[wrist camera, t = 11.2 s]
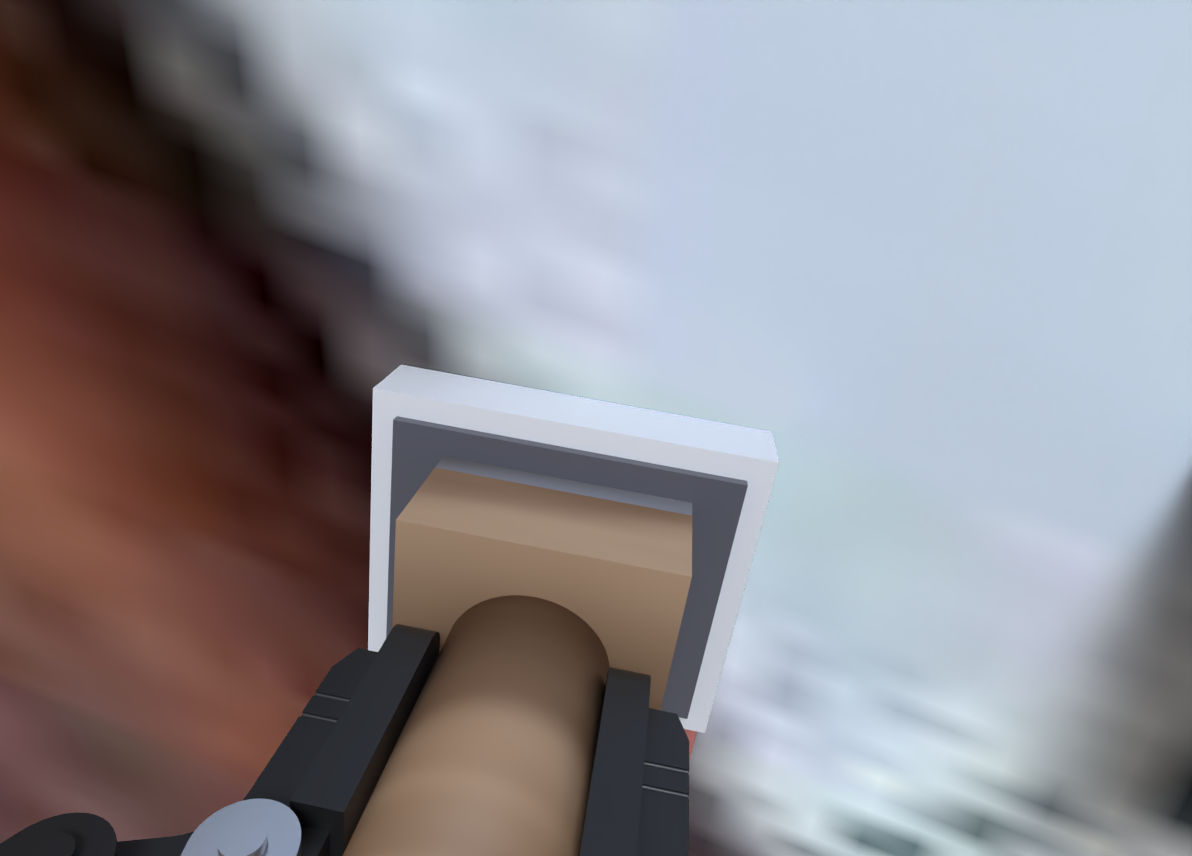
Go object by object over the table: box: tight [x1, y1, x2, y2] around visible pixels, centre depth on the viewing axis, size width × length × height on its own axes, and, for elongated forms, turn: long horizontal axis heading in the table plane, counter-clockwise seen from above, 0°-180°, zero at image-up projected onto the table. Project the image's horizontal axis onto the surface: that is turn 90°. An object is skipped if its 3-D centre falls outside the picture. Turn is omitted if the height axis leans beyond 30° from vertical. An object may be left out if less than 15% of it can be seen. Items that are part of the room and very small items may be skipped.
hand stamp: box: [343, 457, 692, 856], centre depth 12 cm, size 5×5×8 cm
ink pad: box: [368, 365, 779, 733], centre depth 16 cm, size 7×8×2 cm
